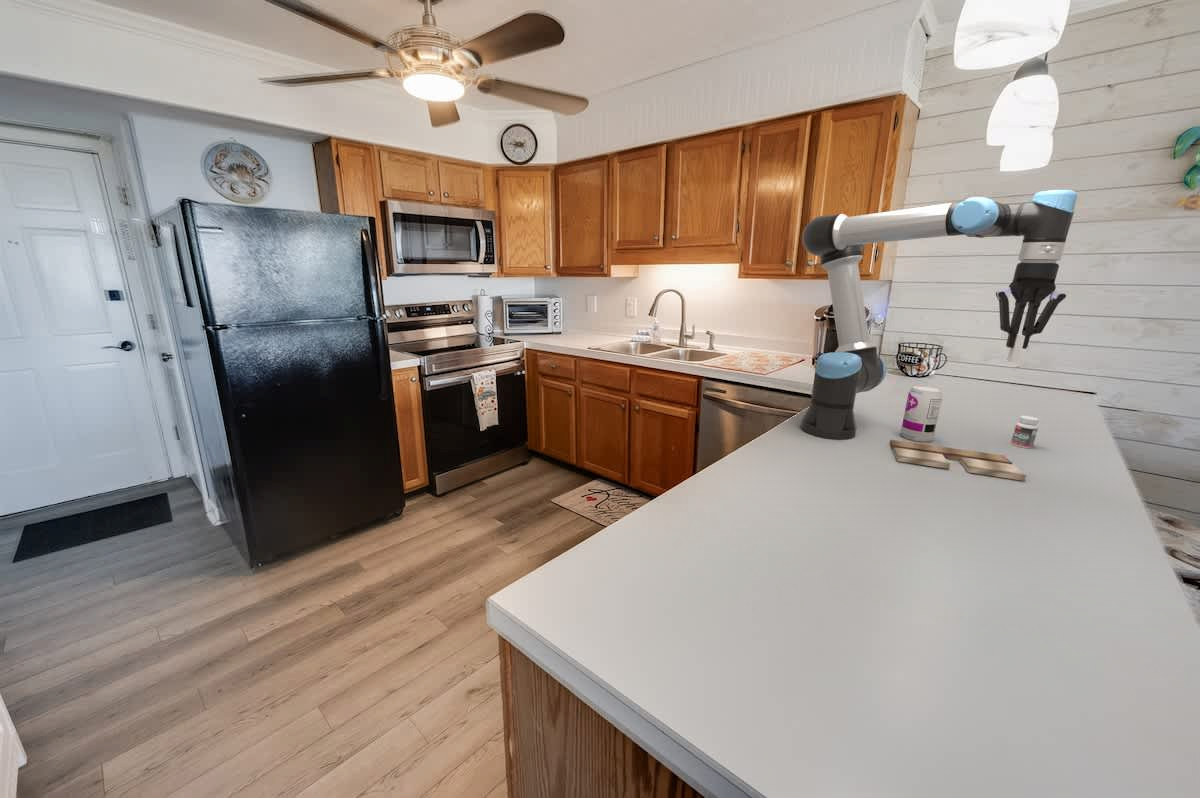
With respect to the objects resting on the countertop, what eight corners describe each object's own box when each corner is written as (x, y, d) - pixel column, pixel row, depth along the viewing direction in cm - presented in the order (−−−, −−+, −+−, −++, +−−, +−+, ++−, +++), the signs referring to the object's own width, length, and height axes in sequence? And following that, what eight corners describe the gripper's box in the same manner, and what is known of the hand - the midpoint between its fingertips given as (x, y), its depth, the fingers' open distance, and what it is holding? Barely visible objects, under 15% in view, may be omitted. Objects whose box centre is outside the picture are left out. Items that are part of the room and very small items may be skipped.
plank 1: (897, 460, 122) (898, 455, 122) (893, 451, 130) (894, 446, 129) (948, 468, 118) (950, 463, 118) (941, 458, 125) (942, 453, 125)
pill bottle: (1007, 443, 138) (1014, 416, 136) (1016, 441, 140) (1023, 414, 138) (1026, 449, 134) (1034, 421, 132) (1035, 447, 136) (1043, 419, 134)
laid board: (892, 450, 130) (893, 445, 130) (889, 443, 136) (890, 438, 135) (1011, 468, 121) (1012, 462, 120) (1002, 460, 126) (1004, 454, 125)
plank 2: (968, 472, 117) (969, 466, 116) (959, 461, 124) (960, 455, 124) (1024, 480, 113) (1026, 475, 112) (1012, 469, 120) (1013, 463, 119)
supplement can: (904, 440, 139) (915, 390, 135) (896, 431, 146) (906, 384, 142) (937, 444, 136) (948, 393, 132) (927, 435, 144) (937, 386, 140)
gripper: (1009, 261, 111) (985, 361, 117) (1082, 262, 106) (1052, 366, 112) (998, 261, 118) (976, 356, 124) (1066, 263, 113) (1039, 361, 119)
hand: (1012, 361), depth 118 cm, fingers closed
